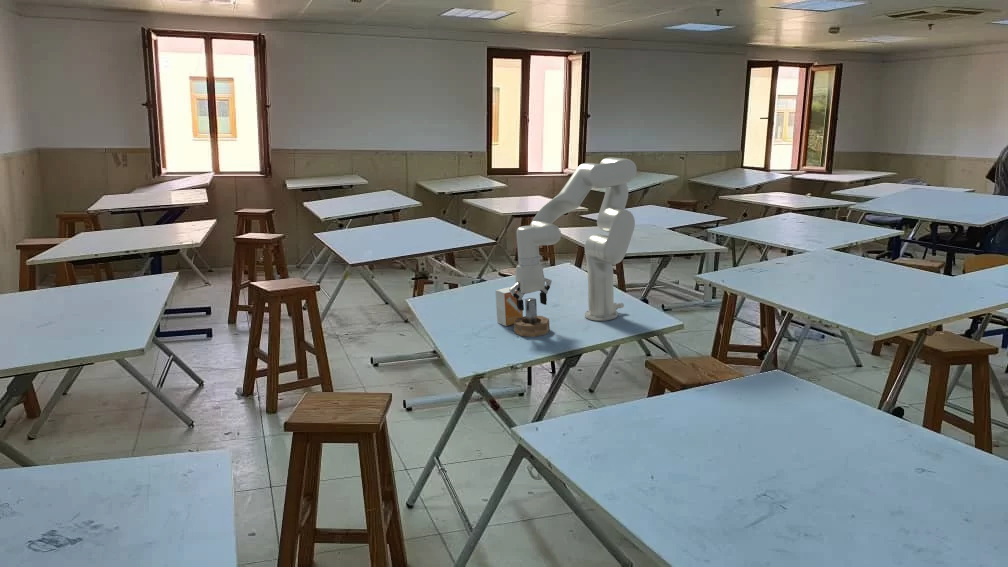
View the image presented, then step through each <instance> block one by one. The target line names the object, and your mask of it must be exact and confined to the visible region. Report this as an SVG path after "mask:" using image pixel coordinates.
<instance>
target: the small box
mask: <svg viewBox="0 0 1008 567" xmlns="http://www.w3.org/2000/svg"><path fill="white" fill-rule="evenodd" d="M511 287H512V286H509V287H502V288H500V289H496V290H495V306H496V307H495V308H496V309H495V310H496V322H497V324H500V325H502V326H505V327H507V326H512V325H514V322H515V320H516V319H517V318H520V317H524V315H523V314H524V312H523V311H524V310H523V311H522V310H519V309H518V308H517V299H515V297H513V296H512V294H511V293H510V291H509V289H510V288H511ZM515 293H516V294H517V291H516V290H515Z"/></svg>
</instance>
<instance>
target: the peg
mask: <svg viewBox="0 0 1008 567" xmlns="http://www.w3.org/2000/svg"><path fill="white" fill-rule="evenodd" d="M524 304H525V305H524V306H525V308H524V310H525V316H526V324H534V323H537V316H538V313H537V312H538V310H537V298H534V297H529V298H525V299H524Z"/></svg>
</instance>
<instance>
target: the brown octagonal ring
mask: <svg viewBox="0 0 1008 567" xmlns="http://www.w3.org/2000/svg"><path fill="white" fill-rule="evenodd" d="M513 330H514V334H516V335H519V336H520V337H530V338H531V337H532V338H533V337H534V338H535V337H540V336H543V335H548V333H549V331H550V318H547V317H545V316H543V315H537V323H534V324H526V315H525V316H524V315H523V317H520V318H517V319H516V320H515V322H514V324H513Z"/></svg>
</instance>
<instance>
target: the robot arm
mask: <svg viewBox="0 0 1008 567" xmlns="http://www.w3.org/2000/svg"><path fill="white" fill-rule="evenodd" d="M637 170H638V169H637V165H636V163H635V162H634V161H632V160H631V159H629V158H622V157H621V158H620V157H612V156H611V157H605V158H603V159H602V160H601V161H600V162H599V163H594V162H584V163H581V164H579V166H577V167H576V169H575V170H574V172H573V173H572V175H571V176H570V178H569V179H568V180H567V181H566V183H565V184H564V186H563V187H562V189H561V190H560V192H559V193H558V194H557V195H556V196H554V197H553V198H552V199H551V200H550V201H548V202H547V203H546V204H544V205H543V206H541V208H540V209H539V210H538V212H537V213H536V215H535V216H534V217H533V219H532V221H531V222H530V224H529V225H523V226H519V227H517V229H516V246H517V261H518V265H516V269H515V281H514V282H515V283H514V284H513V285H512V286H510V287H511V288H510V289H509V291H510V293H511V294H512V296H513V297H515V299H517V308H518V309H519V310H522V311H524V310H525V308H524V306H525V305H524V304H525V303H524V299H523V297H524V295H525V294H526V295H527V294H531V293H535V292H538V291H540V292H539V303H540V304H542V305H544V306H545V305H547V304H548V302H547V301H548V300H547V294H548V293H549V290H550V288H551V285H552V279H549V278H546V277H545V275H544V274H545V273H544V268H543V266H542V263H541V260H542V259H543V256H542V255H541V254H540V248H539V247H540V246H551V245H552V246H553V245H555V244H557V243H558V242H559V241H560V240H561V238H562V231H561V229H560V227H559V226H558V225H556V224H555V223H554V222H555V221H556V220H557V219H558V218H560V217H561V216H563V215H565V214H567V213H570V212H571V213H572V212H573V211H575V210H577V209H579V207H581V205H582V203H583V201H584V200H585V198H586V197H587V195H588V194H589V193H590V192H591V190H592V189H605V192H604V197H603V200H602V203H601V206H600V209H599V211H598V215H597V218H596V225H597V227H598V229H600V230H601V231H603V232H606V233H608V235H605V234H602V233H601V234H600V233H598V234H597V233H595V234H592V235H590V236H589V237H588V238H587V239H586V241H585V243H584V254H585V259H586V267H587V291H588V292H587V294H588V295H587V296H588V298H587V302H588V310H587V311H585V312H584V317H585V318H586V319H587V320H591V321H600V322H603V321H611V320H615V319H616V318H618V317H619V312H618V311H617V310H618V309H623V308H624V307H625V304H624V303H623V302H619V303H617V302H614V301H615V300H614V293H615V292H614V267H613V265H617V264H619V263H621V262H622V261H623V259H624V258H625V256H626V254H627V252H628V248H629V245H630V243H631V241H632V240H631V239H632V237H633V234H634V230H635V226H636V221H635V219H636V218H635V217H634V214H633V213H632V212H631V211H630V210H628V209H626V205H627V202H628V199H629V187H628V184H627V183H630V182H631V181H633V180H634V179H635V177H636V175H637ZM515 290H516V291H517V294H516V293H515Z"/></svg>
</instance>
